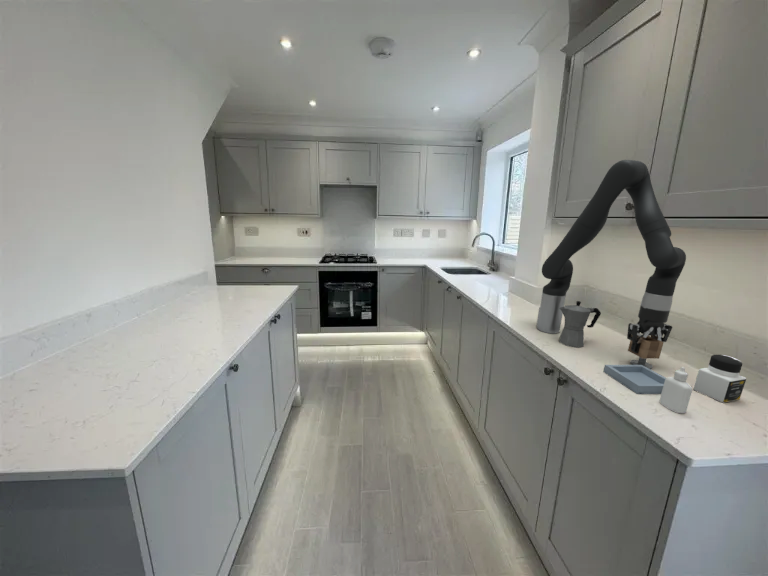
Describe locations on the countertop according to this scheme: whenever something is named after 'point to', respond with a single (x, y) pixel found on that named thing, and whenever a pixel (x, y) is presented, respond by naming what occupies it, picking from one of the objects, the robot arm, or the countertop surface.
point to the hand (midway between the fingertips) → (643, 352)
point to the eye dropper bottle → (676, 392)
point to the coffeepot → (576, 324)
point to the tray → (637, 378)
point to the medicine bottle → (721, 379)
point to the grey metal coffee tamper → (641, 363)
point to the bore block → (648, 348)
